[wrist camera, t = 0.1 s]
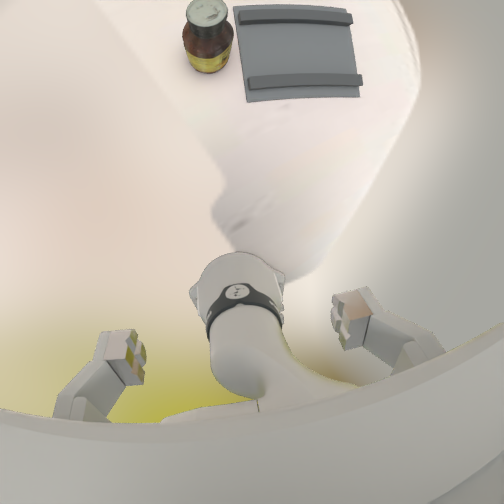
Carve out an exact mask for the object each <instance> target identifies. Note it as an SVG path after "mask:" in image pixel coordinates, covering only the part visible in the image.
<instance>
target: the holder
mask: <svg viewBox="0 0 504 504" xmlns="http://www.w3.org/2000/svg"><path fill="white" fill-rule="evenodd" d="M233 10H234V17H235V23H236V30H237V36H238V43H239V50H240V57H241V63H242V70H243V77H244V84H245V91H246V99H247V102H256V101H266V100H277V99H291V98H311V97H360V94H359V86H363V81H362V75H360V74H357V69H356V62H355V55H354V49H353V43H352V37H351V32H350V26H349V25H351V24H353V19H352V14H349V13H347V12H346V9H343V8H334V7H324V6H311V5H284V4H273V5H246V6H233Z"/></svg>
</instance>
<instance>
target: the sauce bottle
mask: <svg viewBox="0 0 504 504" xmlns="http://www.w3.org/2000/svg"><path fill="white" fill-rule="evenodd" d="M227 13H228V9H227V6H226V4H225V3H224V2H223V1H222V0H194V1H192V2H191V3H190V4H189V6H188V7H187V10H186V17H187V21H188V22H187V23H186V25H185V26H184V29H183V33H182V34H183V36H182V37H183V41H184V47H185V50H186V53H187V56H188V59H189V61H190V63H191V65H192V66H193V67H194V68H195V69H196V70H197V71H199V72H203V73H214V72H216V71H218V70H220V69H221V68H223V66H224V65H225V64H226V63H227V61H228V58H229V54H230V50H231V46H232V41H233V36H234V31H233V28H232V26H231V24H230V23H229V22H228V21H226V19H227Z"/></svg>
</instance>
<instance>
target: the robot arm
mask: <svg viewBox="0 0 504 504" xmlns="http://www.w3.org/2000/svg"><path fill="white" fill-rule="evenodd" d="M284 282H285V277H284V274H283V273H282V272H280V271H277V270H275V269H272V268H270V267H269V266H268V265H267V264H266V263H265V262H264V261H263V260H262V259H260V258H258V257H257V256H254V255H252V254H248V253H242V252H235V253H229V254H225V255H222V256H220V257H218V258H216V259H215V260H213V261H212V262H211V263H210V264H209V265H208V266H207V267H206V268H205V269H204V271H203V273H202V275H201V278H200V280H199V281H198V282H197V283H196V284H195V285H194V286H192V288H191V289H190V291H189V295H190V298H191V299H192V301H193V303H194V305H195V307H196V308H197V310H198V315H199V316H201V318H202V320H203V322H204V323H205V325H206V332H207V338H208V340H209V342H210V362H211V370H212V373H213V375H214V377H215V379H216V380H217V381H218V382H219V383H220V384H221V385H222V386H223V387H225V388H226V389H227V390H229V391H230V392H232V393H235V394H237V395H240V396H244V397H248V398H251V399H254V400H251V401H244V402H238V403H231V404H224V405H217V406H208V407H200V408H196V409H193V410H189V411H186V412H182V413H179V414H175V415H172V416H168V417H165V418H164V419H163V420H162V421H161V422H160V423H111V422H110V421H109V420H108V419H107V418H106V416H107V415H108V413H109V412H110V410H111V409H112V407H113V406H114V404H115V403H116V401H117V399H118V398H119V396H120V395H121V394H122V392H123V391H124V389H125V388H126V386H132V385H143V383H144V374H145V371H144V370H143V368H142V367H143V366H144V365H145V364H146V351H145V347H144V345H143V343H142V342H141V341H139V340H138V339H137V338H138V334H137V333H136V331H135V330H134V329H128V330H115V331H105V332H101V334H100V335H99V339H98V343H97V346H96V349H95V353H94V357H93V360H92V361H89V362H88V363H87V364H86V365H85V366H84V368H83V369H82V370H81V371H80V372H79V373H78V374H77V375H76V376H75V377H74V378H73V379H72V380H71V381H70V382H69V383H68V385H67V386H66V387H65V388H64V389H63V390H62V391H61V392H60V393H59V394H58V397H57V400H56V404H55V408H54V413H53V417H52V418H50V417H43V416H37V415H31V414H25V413H20V412H15V411H10V410H6V409H1V408H0V504H504V323H499V324H497V325H495V326H494V327H492V328H490V329H489V330H487V331H486V332H484V333H482V334H480V335H478V336H477V337H475V338H473V339H471V340H470V341H467V342H466V343H464V344H462V345H460V346H458V347H456V348H454V349H452V350H450V351H448V352H446V351H445V350H444V348H443V347H442V345H441V344H440V343H439V341H438V340H437V338H436V337H435V335H434V334H433V332H431V331H429V330H427V329H425V328H423V327H421V326H419V325H417V324H415V323H413V322H410V321H408V320H406V319H404V318H402V317H400V316H398V315H396V314H394V313H392V312H390V311H384V309H383V308H382V306H381V305H380V303H379V302H378V300H377V299H376V298H375V296H374V295H373V293H372V292H371V290H370V289H369V288H368V287H367V286H366V287H362V288H358V289H355V290H350V291H346V292H342V293H338V294H334V295H333V297H332V303H333V305H334V307H333V308H332V309H331V322H332V325H333V328H334V330H335V331H336V332H337V333H339V341H340V343H341V345H342V347H343V349H344V351H345V350H349V349H353V348H357V347H361V346H363V347H364V348H365V349H367V350H369V352H371V353H372V354H374V355H375V356H377V357H378V358H380V359H381V360H382V361H384V362H385V363H387V364H388V365H389V366H391V367H392V368H393V371H392V373H391V375H390V377H387V378H384V379H382V380H379V381H376V382H373V383H371V384H367V385H364V386H362V387H358V386H356V385H354V384H351V383H345V382H340V381H336V380H332V379H329V378H326V377H324V376H322V375H320V374H318V373H316V372H314V371H312V370H311V369H309V368H308V367H306V366H305V365H303V364H302V363H301V362H300V361H299V360H298V359H297V358H296V357H295V356H294V355H293V354H292V352H291V350H290V349H289V346H288V344H287V342H286V340H285V338H284V335H283V333H282V325H283V324H284V317H283V314H280V311H283V310H284V306H283V304H281V303H282V301H283V297H282V296H283V289H284ZM278 283H279V284H278ZM196 297H197V298H196ZM257 401H258V404H257ZM258 406H259V408H258ZM259 411H260V412H259Z"/></svg>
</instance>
